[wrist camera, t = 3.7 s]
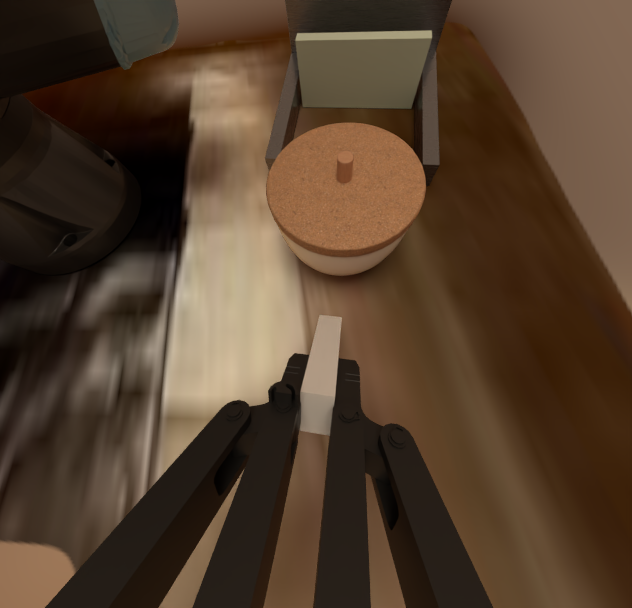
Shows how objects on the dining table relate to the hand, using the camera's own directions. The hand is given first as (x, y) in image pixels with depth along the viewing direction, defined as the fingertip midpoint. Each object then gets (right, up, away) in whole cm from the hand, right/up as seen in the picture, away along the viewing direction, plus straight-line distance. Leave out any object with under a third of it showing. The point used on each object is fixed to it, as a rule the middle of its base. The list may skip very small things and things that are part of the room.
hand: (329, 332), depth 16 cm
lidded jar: (+2, +8, +7) cm, 11 cm away
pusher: (+4, +27, +12) cm, 30 cm away
